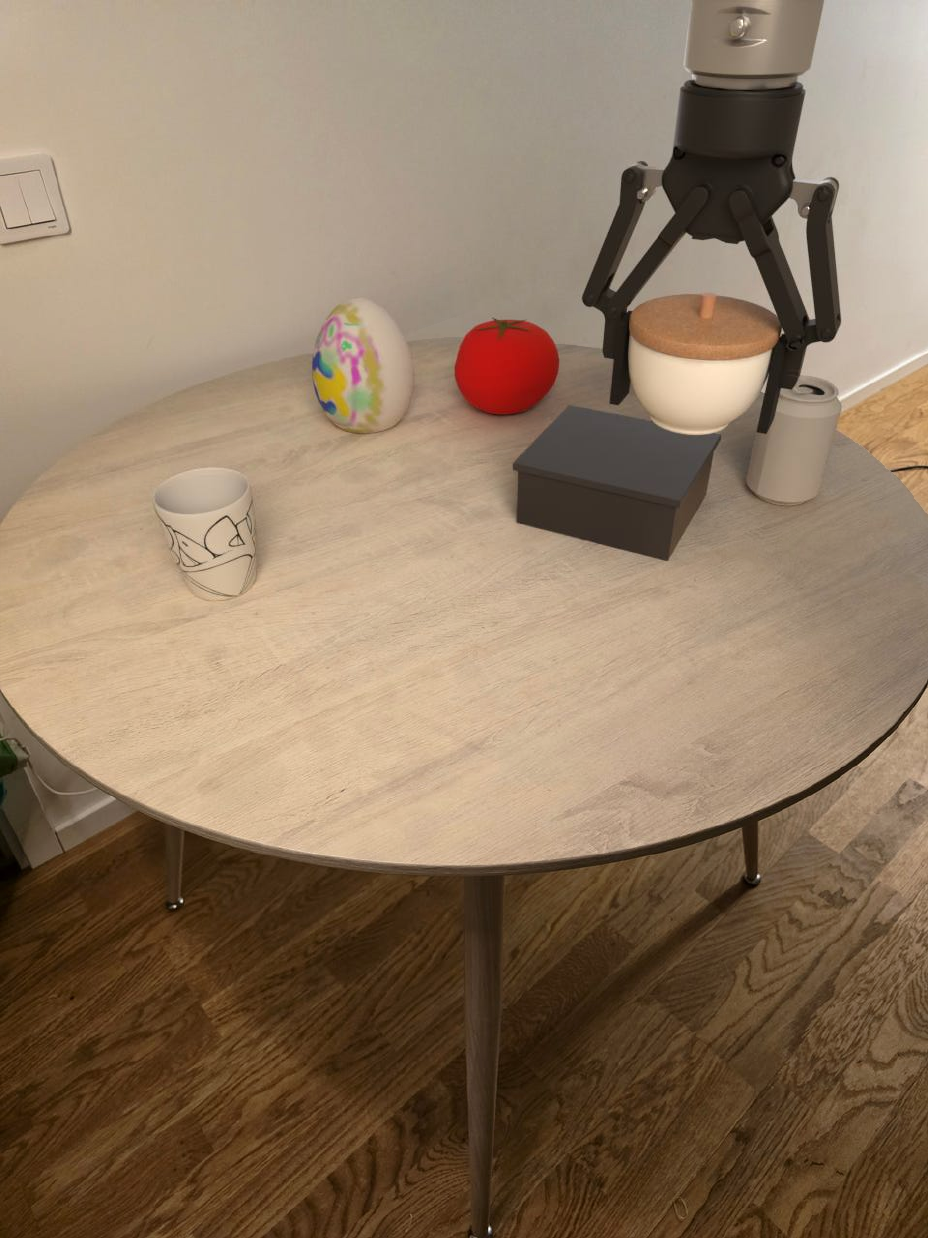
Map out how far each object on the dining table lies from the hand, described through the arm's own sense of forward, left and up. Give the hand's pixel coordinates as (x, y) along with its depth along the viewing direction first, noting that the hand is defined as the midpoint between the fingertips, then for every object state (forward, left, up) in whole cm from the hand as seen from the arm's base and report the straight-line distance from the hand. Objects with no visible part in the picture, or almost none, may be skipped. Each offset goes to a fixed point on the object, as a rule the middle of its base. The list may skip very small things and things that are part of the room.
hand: (689, 411), depth 67 cm
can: (-6, -24, -19) cm, 31 cm away
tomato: (+30, -31, -19) cm, 47 cm away
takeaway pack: (+9, -13, -18) cm, 24 cm away
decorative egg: (+44, -20, -19) cm, 52 cm away
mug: (+39, +15, -19) cm, 46 cm away
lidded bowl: (0, 0, -1) cm, 1 cm away
